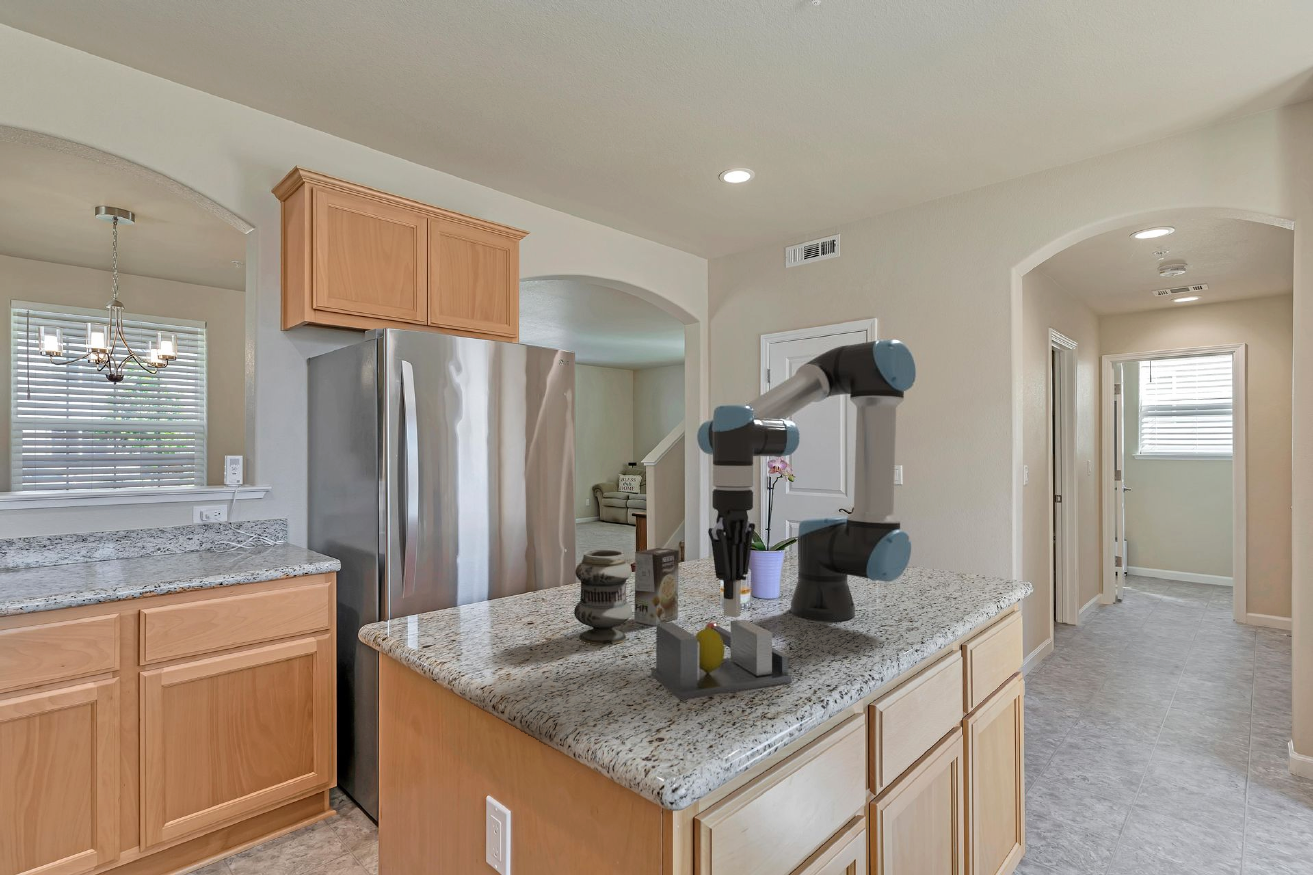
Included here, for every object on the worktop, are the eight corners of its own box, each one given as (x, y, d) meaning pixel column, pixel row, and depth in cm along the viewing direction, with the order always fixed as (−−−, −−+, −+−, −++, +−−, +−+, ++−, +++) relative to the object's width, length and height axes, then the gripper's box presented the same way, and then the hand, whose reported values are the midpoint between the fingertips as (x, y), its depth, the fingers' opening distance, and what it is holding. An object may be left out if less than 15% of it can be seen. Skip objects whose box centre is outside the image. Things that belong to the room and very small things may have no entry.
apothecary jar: (583, 650, 127) (584, 558, 127) (567, 633, 138) (567, 549, 138) (640, 643, 132) (641, 554, 132) (620, 627, 143) (620, 546, 143)
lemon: (706, 665, 115) (706, 620, 115) (730, 673, 111) (730, 627, 111) (685, 673, 111) (685, 626, 111) (709, 682, 107) (709, 633, 107)
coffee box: (656, 626, 144) (656, 554, 144) (633, 622, 148) (634, 551, 148) (679, 618, 151) (679, 549, 152) (656, 613, 155) (657, 546, 155)
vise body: (754, 660, 121) (754, 611, 122) (791, 682, 110) (791, 628, 111) (651, 675, 113) (651, 622, 113) (680, 700, 102) (680, 641, 102)
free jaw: (715, 640, 129) (715, 605, 130) (771, 673, 111) (772, 632, 111) (702, 641, 128) (702, 606, 128) (756, 675, 109) (757, 634, 110)
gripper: (734, 485, 128) (733, 605, 127) (695, 489, 117) (695, 619, 117) (767, 487, 123) (767, 611, 123) (731, 491, 113) (730, 626, 112)
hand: (732, 615), depth 120 cm, fingers closed
